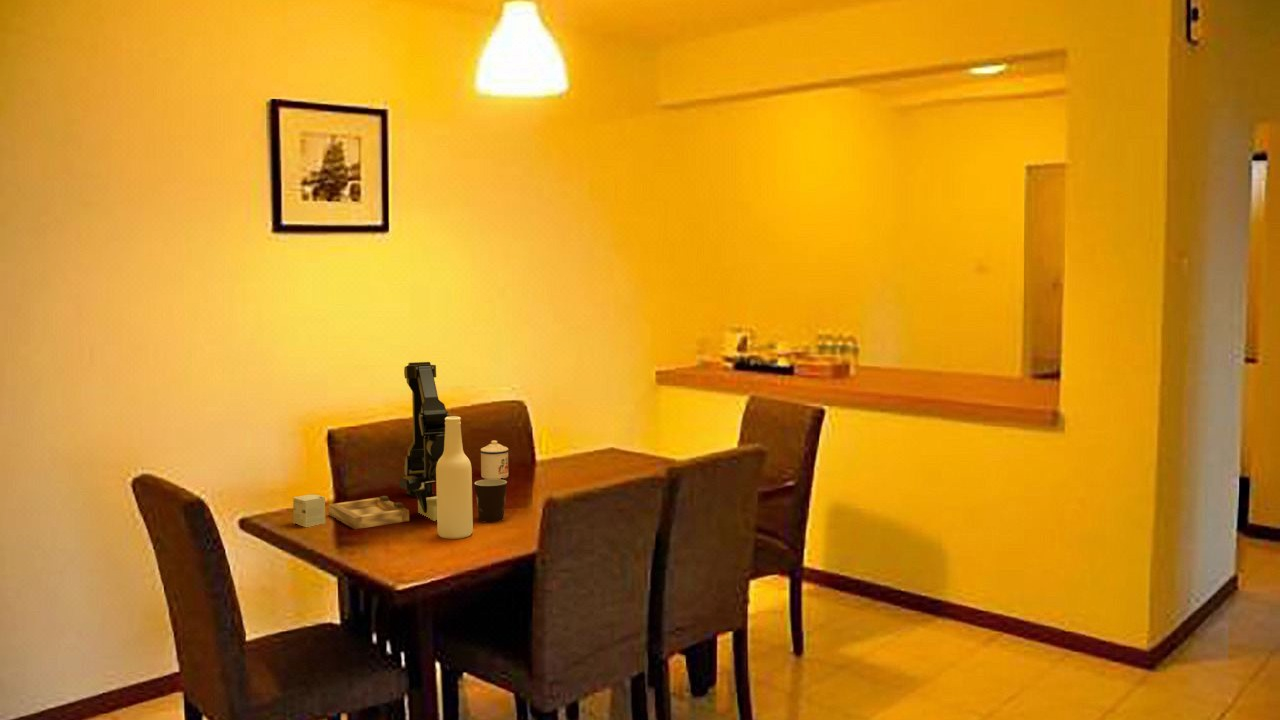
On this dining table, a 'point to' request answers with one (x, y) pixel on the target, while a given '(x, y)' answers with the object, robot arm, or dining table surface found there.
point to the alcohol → (454, 485)
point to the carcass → (369, 512)
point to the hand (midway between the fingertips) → (436, 510)
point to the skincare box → (309, 510)
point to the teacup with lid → (494, 461)
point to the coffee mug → (490, 499)
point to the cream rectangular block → (429, 508)
